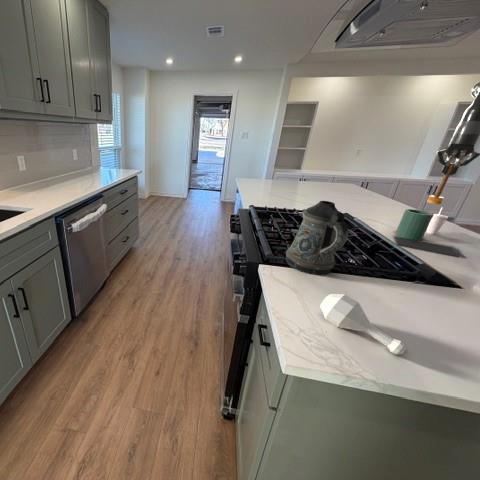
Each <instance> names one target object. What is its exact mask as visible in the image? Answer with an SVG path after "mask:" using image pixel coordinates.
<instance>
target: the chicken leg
mask: <svg viewBox="0 0 480 480" xmlns="http://www.w3.org/2000/svg"><path fill="white" fill-rule="evenodd" d="M319 307H320V309H321V311H322V314H323V316H324V318H325V319H326V320H327V321H328V322H329V323H331V324H333V326H335V327H337V328H341V329H347V330H353V331H359V332H364V333H366V334H367V335H369V336H370V337H372V338H374V339H375V340H376V341H378V342H379V343H381V344H382V345H384V346H385V347H386V348H387V349H388V350H389V352H390V353H392V354H394V355H403V354H404V353H405V352H406V344H405V343H404V342H403V341H402V340H399V339H395V338H393V337H392V336H390V335H388V334H387V333H385V332H384V331H382V330H381V329H379V328H377V327H376V326H375V325H373V324H372V323H371V322H370V320H369V318H368V316H367V314H366V313H365V311H364V310H363V308H362V305H360V303H359V301H357V300H356V299H354V298H353V297H351V296H349V295H347V294H345V293H329V294H328V295H326V297H324V299H323V300H322V301H321V303H320V305H319Z"/></svg>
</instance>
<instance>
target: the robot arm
mask: <svg viewBox="0 0 480 480" xmlns="http://www.w3.org/2000/svg"><path fill="white" fill-rule="evenodd" d="M470 95H471V97H473V98H474V100H473V102H472V103H471V104H470V105H469V106H468V107H467V108H466V109H465V110H464V112H463V115H462V117H461V119H460V121H459V123H458V125H457V126H456V127H455V130H454V131H453V135H452V137H451V138H450V141H449V143H448V145H447V147H445V148H444V149H442V150H436V152H435V153H436V157H437V160H438V163H439V164H440V165H443V166H442V168H441V171H440V173H441V175H443V176H444V175H445V174H446V172H447V170H448V168H449V165H450V163H452V161H453V160H454V159H455V162H454V163H455V166H454V168H453V170H452V172H451V174H450V176H454V175H456V174H457V171H458V169H459V168H460V167H466V166H467V165H468V164H470V163H471V162H473V161H474V160H475V159H477V158H479V156H480V153H479V152H477V151H475V145H476V144H477V142H478V140H479V137H480V81H479V82H477V83H476V84H475V85H473V87H472V88H471V91H470ZM445 154H446V156H447V157H446V159H444V155H445ZM468 156H469V157H468ZM465 157H467V159H465V160H464V158H465ZM445 160H446V161H445Z"/></svg>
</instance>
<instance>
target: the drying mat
mask: <svg viewBox="0 0 480 480" xmlns="http://www.w3.org/2000/svg"><path fill="white" fill-rule="evenodd" d="M393 238H394V240H395V243H396V245H397V246H400V247H404V248H409V249H414V250H419V251H424V252H430V253H435V254H440V255H445V256H449V257H455V258H460V255H459V253H457V252H456V250H455V249H454V248H453V246H450V245H443V244H438V243H433V242H427V241H422V240H419V241H417V240H412V239H406V238H401V237H399V236H397V235H395V236H394V237H393Z"/></svg>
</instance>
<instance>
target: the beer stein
mask: <svg viewBox="0 0 480 480" xmlns="http://www.w3.org/2000/svg"><path fill="white" fill-rule="evenodd" d="M344 221H345V214H344V213H343V212H342V211H340V210H338V208H337V207H336V204H335V202H333V201H329V200H319V201H318V202H317V203H316V204H315V205H312V206H310V207H307V208H305V209H304V210H303V211H302V222H301V224H300V226H299V228H298V230H297V233H296V235H295V237H294V239H293V241H292V243H291V245H290V246H289V247H288V248H287V250H286V252H285V263H286V264H287V265H288V266H289V267H291V268H292V269H294V270H297V271H299V272H301V273H305V274H308V275H318V276H324V275H328V274H330V273H331V271H332V270H333V268H334V267H335V264H336V260H335V253H336V252H338V251H339V250H340V249H342V248H343V247H344V246H345V244H346V243H347V241H348V238H349V228H348V226H347V225H348V224H346V223H345V222H344ZM288 259H289V260H290V261H292V262H293V263H294V264H293V263H292V262H290V261H289V260H288Z"/></svg>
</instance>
